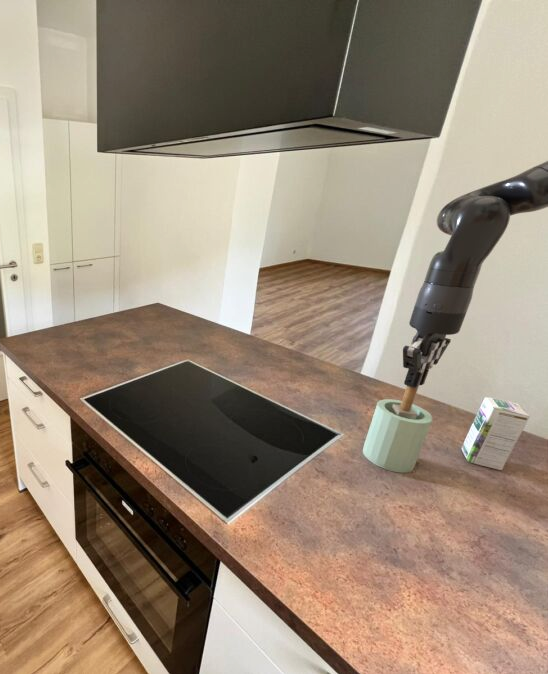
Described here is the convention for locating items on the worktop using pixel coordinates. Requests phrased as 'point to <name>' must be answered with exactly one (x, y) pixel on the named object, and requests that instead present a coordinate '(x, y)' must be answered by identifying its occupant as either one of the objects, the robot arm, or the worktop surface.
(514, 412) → the syrup box
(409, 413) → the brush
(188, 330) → the worktop surface
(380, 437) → the mint green cup
